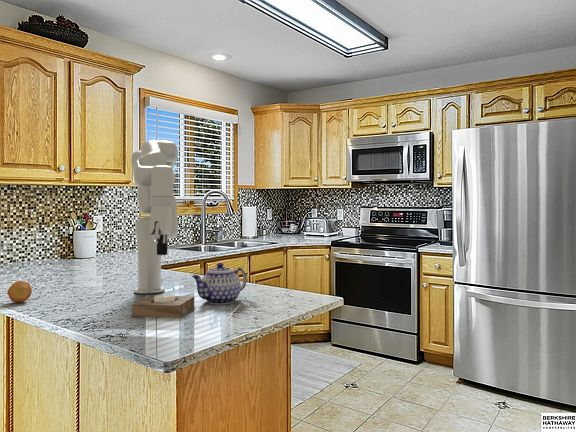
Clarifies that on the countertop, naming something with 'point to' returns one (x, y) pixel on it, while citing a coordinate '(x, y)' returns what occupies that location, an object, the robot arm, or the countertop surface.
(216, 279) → the teapot
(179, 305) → the housing
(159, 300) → the button
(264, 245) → the countertop surface
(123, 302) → the countertop surface
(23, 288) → the fruit
